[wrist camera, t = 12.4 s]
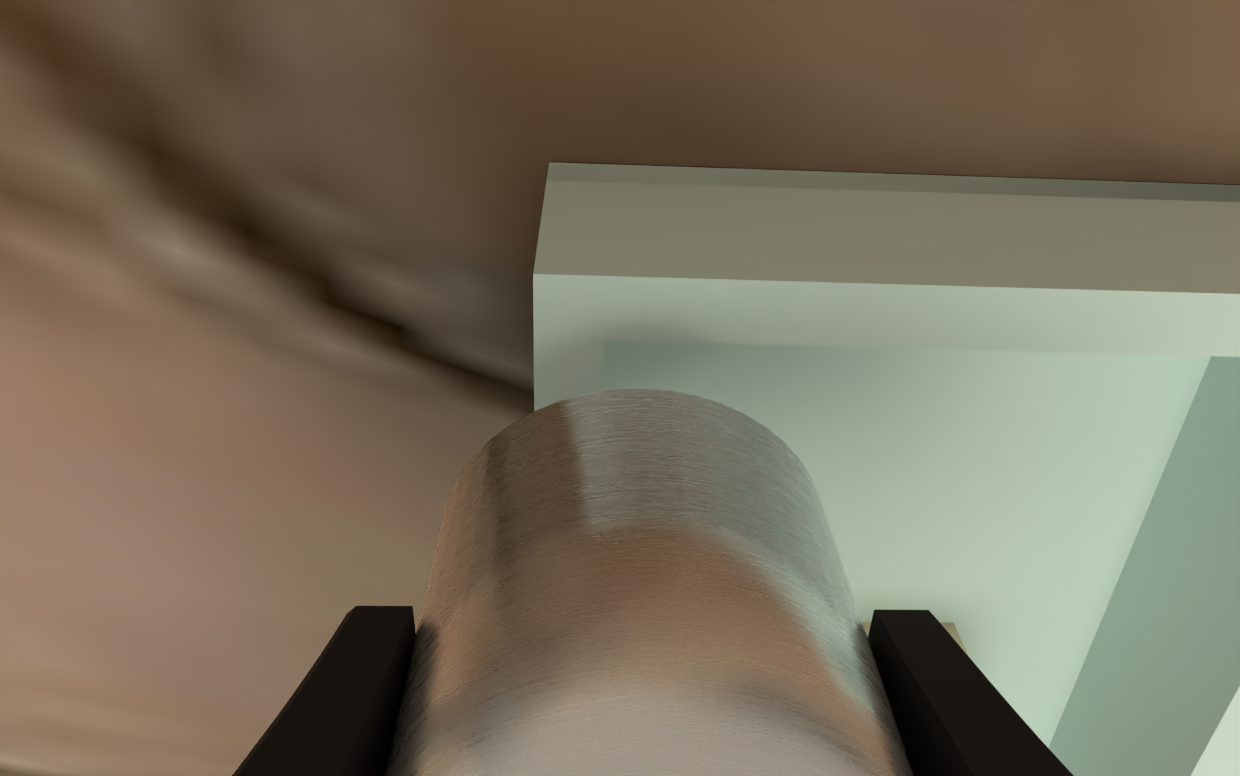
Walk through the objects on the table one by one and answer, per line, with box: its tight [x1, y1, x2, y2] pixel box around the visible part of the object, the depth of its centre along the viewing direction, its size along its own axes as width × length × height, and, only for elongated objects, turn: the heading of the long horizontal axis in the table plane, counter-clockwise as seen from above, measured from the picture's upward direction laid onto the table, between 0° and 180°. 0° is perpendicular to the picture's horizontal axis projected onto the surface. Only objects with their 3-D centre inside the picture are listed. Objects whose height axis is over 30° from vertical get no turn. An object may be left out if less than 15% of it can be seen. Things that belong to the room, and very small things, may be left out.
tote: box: [533, 162, 1240, 776], centre depth 20 cm, size 18×14×5 cm
